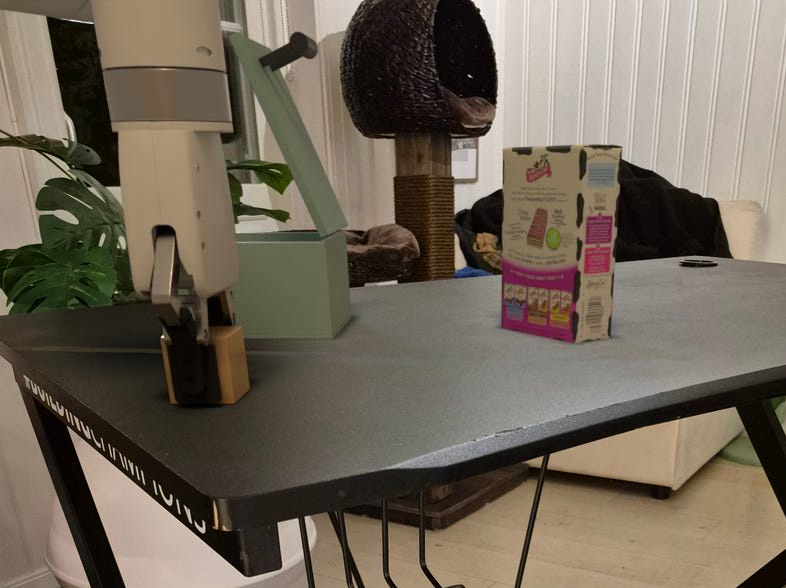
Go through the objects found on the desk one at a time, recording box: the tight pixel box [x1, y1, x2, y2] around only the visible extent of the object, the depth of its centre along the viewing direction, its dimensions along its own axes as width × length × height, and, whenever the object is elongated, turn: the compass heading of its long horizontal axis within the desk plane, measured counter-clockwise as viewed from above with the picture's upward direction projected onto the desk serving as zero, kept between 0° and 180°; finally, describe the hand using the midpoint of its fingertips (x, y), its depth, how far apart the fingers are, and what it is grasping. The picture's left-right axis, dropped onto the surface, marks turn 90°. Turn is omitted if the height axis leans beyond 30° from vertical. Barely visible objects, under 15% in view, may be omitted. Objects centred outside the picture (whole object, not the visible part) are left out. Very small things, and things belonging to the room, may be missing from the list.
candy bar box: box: [500, 143, 623, 344], centre depth 84 cm, size 11×5×16 cm, turn 37°
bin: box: [178, 231, 352, 339], centre depth 89 cm, size 16×13×9 cm
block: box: [159, 326, 251, 405], centre depth 66 cm, size 5×5×5 cm
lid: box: [228, 31, 349, 238], centre depth 82 cm, size 16×13×5 cm
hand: (210, 390), depth 66 cm, fingers open, 5 cm apart
